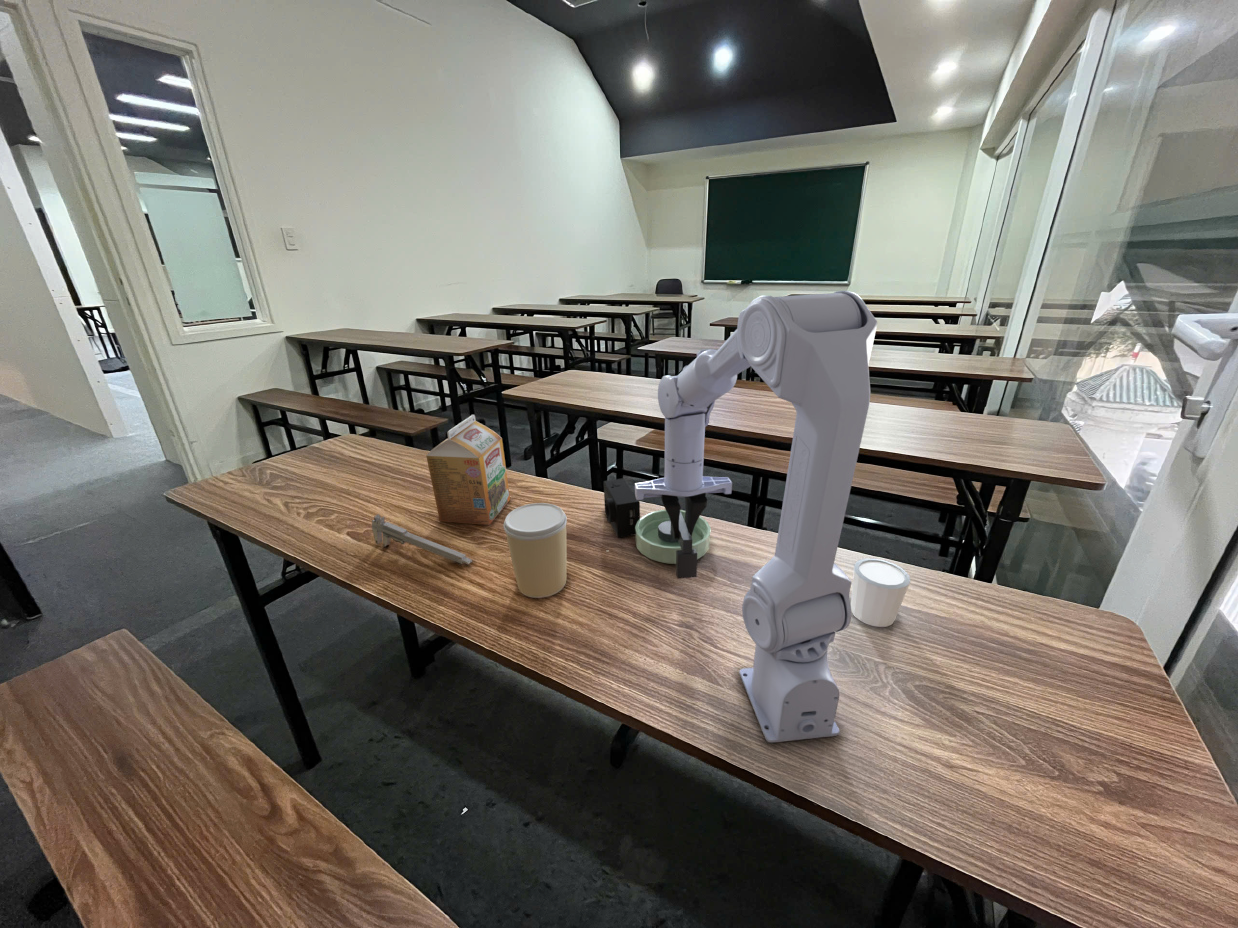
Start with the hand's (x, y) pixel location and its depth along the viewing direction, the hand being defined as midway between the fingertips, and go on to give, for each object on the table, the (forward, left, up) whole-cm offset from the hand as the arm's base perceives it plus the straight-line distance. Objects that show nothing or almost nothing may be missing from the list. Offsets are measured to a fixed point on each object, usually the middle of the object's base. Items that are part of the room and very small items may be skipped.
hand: (681, 535), depth 76 cm
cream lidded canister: (-1, +22, -7) cm, 23 cm away
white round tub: (-14, -25, -7) cm, 29 cm away
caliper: (+10, +44, -7) cm, 46 cm away
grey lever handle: (+3, 0, -5) cm, 6 cm away
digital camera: (+16, +9, -7) cm, 19 cm away
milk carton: (+25, +37, -7) cm, 46 cm away
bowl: (+7, 0, -6) cm, 10 cm away
